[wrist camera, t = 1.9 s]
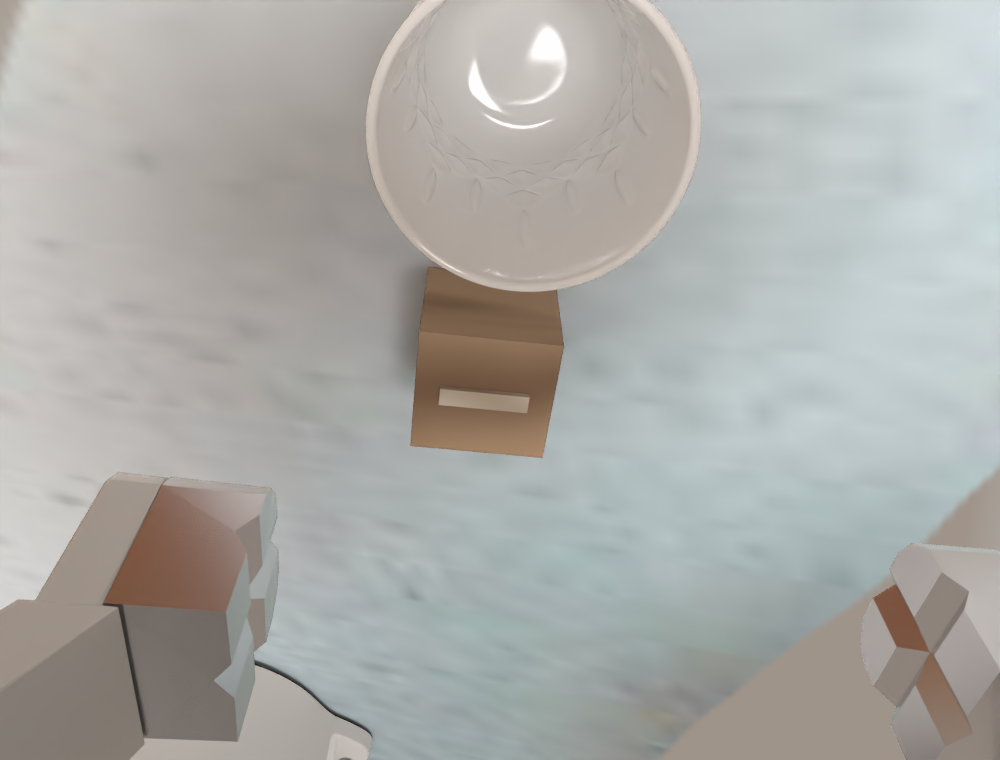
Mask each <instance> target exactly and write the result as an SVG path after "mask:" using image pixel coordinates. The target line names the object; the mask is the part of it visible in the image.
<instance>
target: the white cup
mask: <svg viewBox="0 0 1000 760" xmlns="http://www.w3.org/2000/svg"><path fill="white" fill-rule="evenodd" d="M700 138H701V104H700V96H699V90H698V85H697V81H696V77H695V74H694V70H693V67H692V65H691V62H690V59H689V57H688V55H687V52H686V50H685V48H684V46H683V44H682V43H681V41H680V39H679V37H678V36H677V34H676V32H675V31H674V29H673V28H672V27H671V25H670V24H669V22H668V21H667V20H666V19H665V17H664V16H663V15H662V14H661V13H660V12H659V10H658V9H657V8H656V7H655V6H654V5H653V4H652V3H651V2H650V1H648V0H419V2H418V3H417V4H416V6H415V7H414V8H413V10H412V11H411V13H410V14H409V16H408V17H407V18H406V20H405V21H404V22H403V24H402V25H401V26H400V28H399V29H398V30H397V32H396V33H395V35H394V36H393V38H392V39H391V41H390V43H389V44H388V46H387V48H386V50H385V52H384V54H383V56H382V58H381V60H380V62H379V65H378V67H377V70H376V73H375V76H374V79H373V82H372V86H371V89H370V94H369V99H368V105H367V113H366V145H367V153H368V159H369V164H370V169H371V172H372V176H373V179H374V182H375V185H376V188H377V190H378V193H379V195H380V197H381V199H382V201H383V203H384V205H385V207H386V209H387V211H388V212H389V214H390V216H391V217H392V219H393V220H394V222H395V223H396V225H397V226H398V227H399V229H400V230H401V231H402V232H403V234H404V235H405V236H406V237H407V238H408V239H409V240H410V241H411V242H412V243H413V244H414V245H415V246H416V247H417V248H418V249H419V250H420V251H421V252H422V253H423V254H425V255H426V256H427V257H428V258H430V259H431V260H432V261H434V262H435V263H437V264H438V265H440V266H441V267H443V268H444V269H446V270H448V271H450V272H451V273H453V274H455V275H457V276H459V277H462V278H464V279H466V280H469V281H471V282H474V283H477V284H480V285H484V286H487V287H491V288H496V289H501V290H508V291H518V292H541V291H551V290H558V289H563V288H568V287H572V286H576V285H579V284H582V283H585V282H588V281H591V280H593V279H596V278H598V277H600V276H602V275H604V274H606V273H608V272H610V271H612V270H614V269H616V268H617V267H619V266H621V265H622V264H624V263H625V262H627V261H628V260H630V259H631V258H632V257H634V256H635V255H636V254H637V253H639V252H640V251H641V250H642V249H643V248H644V247H646V246H647V245H648V244H649V243H650V242H651V241H652V240H653V239H654V238H655V237H656V236H657V235H658V233H659V232H660V231H661V230H662V229H663V227H664V226H665V225H666V224H667V222H668V221H669V220H670V218H671V217H672V215H673V214H674V212H675V211H676V209H677V207H678V206H679V204H680V202H681V200H682V198H683V196H684V194H685V192H686V190H687V188H688V185H689V183H690V180H691V178H692V175H693V172H694V169H695V165H696V161H697V157H698V152H699V146H700Z"/></svg>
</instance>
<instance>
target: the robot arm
mask: <svg viewBox="0 0 1000 760" xmlns="http://www.w3.org/2000/svg"><path fill="white" fill-rule="evenodd" d="M276 519H277V510H276V496H275V492H274V491H273V489H272V488H267V487H258V486H249V485H240V484H230V483H221V482H212V481H203V480H194V479H185V478H176V477H170V478H165V477H156V476H147V475H139V474H130V473H121V472H118V473H116V474H115V475H114V476H112V477H111V478H110V479H108V480H107V481H106V482H105V483H104V485H103V486H102V488H101V490H100V491H99V493H98V495H97V497H96V498H95V500H94V502H93V503H92V505H91V507H90V508H89V510H88V512H87V513H86V515H85V517H84V519H83V520H82V522H81V524H80V525H79V527H78V529H77V530H76V532H75V534H74V535H73V537H72V539H71V541H70V542H69V544H68V546H67V547H66V549H65V551H64V552H63V554H62V556H61V557H60V559H59V561H58V563H57V564H56V566H55V568H54V569H53V571H52V573H51V574H50V576H49V578H48V579H47V581H46V583H45V585H44V586H43V588H42V590H41V591H40V593H39V595H38V596H37V598H36V600H19V599H18V600H16V601H14V602H13V603H11V604H10V605H8V606H6V607H5V608H3V609H2V610H0V760H367V759H368V757H369V753H370V749H371V745H372V737H371V735H370V734H369V733H368V732H367V731H365V730H364V729H362V728H360V727H358V726H356V725H354V724H352V723H350V722H348V721H346V720H343V719H341V718H339V717H336V716H334V715H333V714H331V713H330V712H329V711H327V710H326V709H325V708H324V707H323V706H322V705H321V704H320V703H319V702H318V701H317V700H315V699H314V698H313V697H312V696H311V695H310V694H309V693H308V692H306V691H305V690H304V689H302V688H301V687H300V686H298V685H296V684H295V683H293V682H292V681H290V680H288V679H286V678H285V677H283V676H281V675H278V674H276V673H274V672H272V671H270V670H267V669H264V668H262V667H259V666H256V665H255V662H254V651H256V650H257V649H258V648H259V647H260V646H261V645H263V644H264V643H265V642H266V640H267V636H268V632H269V629H270V625H271V621H272V617H273V611H274V605H275V599H276V593H277V585H278V569H279V562H278V549H277V548H276V547H275V546H274V544H273V543H272V542H271V541H270V539H271V536H272V533H273V529H274V526H275V523H276ZM889 570H890V573H891V576H892V578H893V581H894V583H895V585H893V586H892V587H890V588H889V589H887V590H885V591H884V592H882V593H880V594H879V595H877V596H875V597H874V598H873V599H872V601H871V603H870V606H869V607H868V610H867V612H866V614H865V616H864V618H863V621H862V634H861V635H862V636H861V649H862V654H863V659H864V664H865V666H866V669H867V671H868V674H869V676H870V679H871V681H872V683H873V686H874V687H875V688H876V689H877V690H878V691H880V692H881V693H882V694H883V695H884V696H885V697H886V698H887V699H889V700H890V701H891V702H892V703H893V704H894V705H895V706H896V708H895V711H894V715H893V718H892V721H891V724H890V725H891V727H892V729H893V732H894V734H895V736H896V738H897V741H898V743H899V745H900V747H901V750H902V752H903V754H904V756H905V758H906V760H1000V551H999V550H992V549H979V548H967V547H954V546H941V545H928V544H916V543H910V544H909V545H908V546H906V547H905V548H903V549H902V550H901V551H899V552H898V554H897V556H896V557H895V559H894V561H893V563H892V564H891V566H890V568H889Z"/></svg>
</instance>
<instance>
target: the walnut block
mask: <svg viewBox="0 0 1000 760" xmlns="http://www.w3.org/2000/svg"><path fill="white" fill-rule="evenodd" d="M563 349H564V343H563V335H562V327H561V320H560V312H559V305H558V297H557V290H551V291H541V292H518V291H508V290H501V289H496V288H491V287H487V286H484V285H480V284H477V283H474V282H471V281H469V280H466V279H464V278H462V277H459V276H457V275H455V274H453V273H451V272H450V271H448V270H446V269H443V268H433V267H428V274H427V281H426V288H425V295H424V302H423V309H422V315H421V322H420V329H419V340H418V353H417V366H416V378H415V391H414V404H413V417H412V430H411V442H410V446H418V447H429V448H440V449H451V450H462V451H473V452H484V453H495V454H506V455H517V456H528V457H539V458H542V457H543V452H544V447H545V442H546V437H547V431H548V426H549V421H550V416H551V411H552V406H553V400H554V395H555V390H556V385H557V380H558V375H559V369H560V364H561V359H562V354H563Z"/></svg>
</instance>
